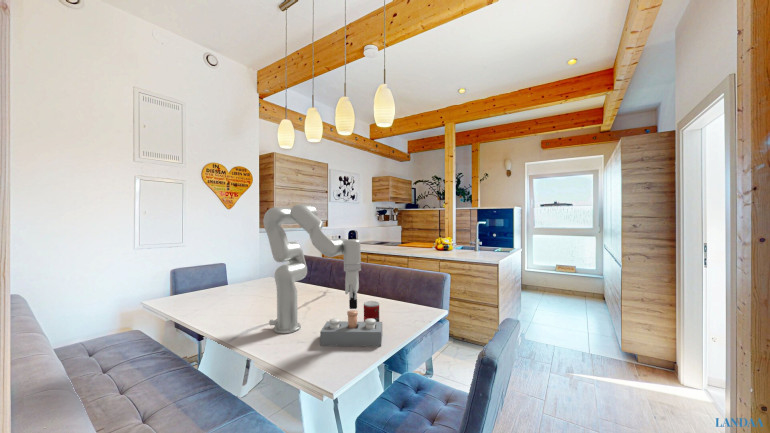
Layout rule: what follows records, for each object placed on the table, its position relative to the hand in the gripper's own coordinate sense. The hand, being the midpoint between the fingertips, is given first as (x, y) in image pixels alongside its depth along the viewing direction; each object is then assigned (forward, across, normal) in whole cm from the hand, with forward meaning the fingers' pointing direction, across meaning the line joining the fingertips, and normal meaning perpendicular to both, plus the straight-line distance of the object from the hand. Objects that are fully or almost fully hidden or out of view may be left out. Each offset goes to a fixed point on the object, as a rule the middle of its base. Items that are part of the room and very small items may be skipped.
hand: (353, 308), depth 130 cm
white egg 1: (+13, 0, -9) cm, 16 cm away
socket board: (+14, 0, -1) cm, 14 cm away
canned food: (+14, -18, +6) cm, 24 cm away
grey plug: (+13, 0, +7) cm, 15 cm away
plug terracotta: (+10, 0, -1) cm, 10 cm away
